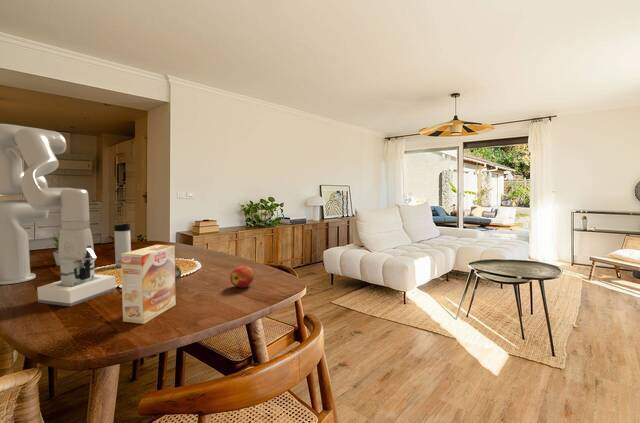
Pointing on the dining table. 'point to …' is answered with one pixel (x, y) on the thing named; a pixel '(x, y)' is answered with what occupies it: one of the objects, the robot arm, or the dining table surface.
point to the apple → (242, 276)
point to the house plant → (57, 250)
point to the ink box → (73, 272)
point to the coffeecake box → (148, 282)
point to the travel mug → (121, 241)
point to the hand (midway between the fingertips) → (78, 277)
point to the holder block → (76, 291)
